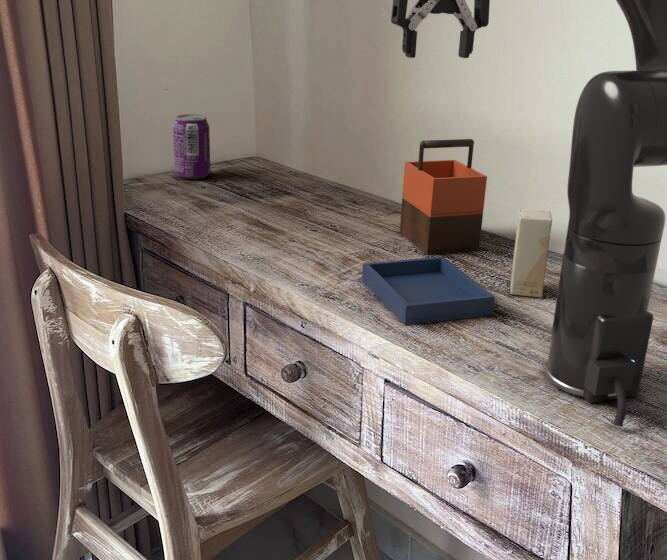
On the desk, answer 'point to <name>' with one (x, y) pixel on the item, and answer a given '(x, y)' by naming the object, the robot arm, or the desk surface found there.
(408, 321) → the tray
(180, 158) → the beverage can
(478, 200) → the top basket
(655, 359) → the desk surface
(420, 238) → the box
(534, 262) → the box
